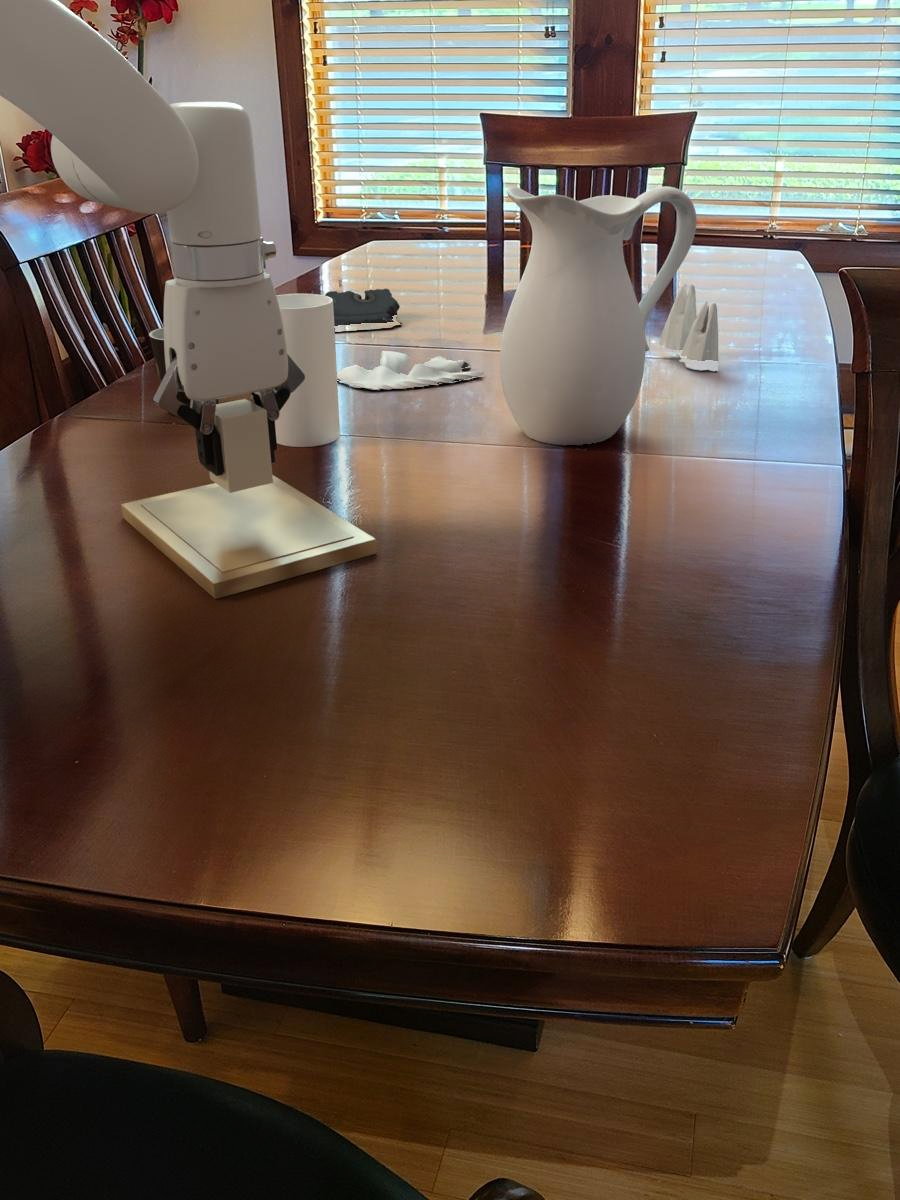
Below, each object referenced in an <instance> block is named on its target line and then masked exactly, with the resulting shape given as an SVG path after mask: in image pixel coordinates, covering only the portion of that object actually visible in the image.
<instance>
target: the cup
mask: <svg viewBox="0 0 900 1200" xmlns="http://www.w3.org/2000/svg"><path fill="white" fill-rule="evenodd" d="M276 295H277V299H278V303H279V307H280V311H281V316H282V322H283V327H284V333H285V340H286V348H287V354H288V355H289V356H290V357H291V359H292V360H293V361H294V362H295V363H296V365H297V366H298V367H299V368H300V370H301V371H302V372H303V373H304V375H305V380H304V381H303V382H302V383H301V384H300V385H299V387H298V388H297V389H296V390H295V391H294V392H292V393H291V394H290V397H289V399H288V400H287V402H286V403H285V404H284V406H283V407H282V409H281V410H280V411H279V412H280V416H279V418H278V419H277V420H276V421H275V429H276V441H277V445H281V446H284V447H292V448H310V447H319V446H323V445H328V444H330V443H333V442H335V441H337V440H338V439H339V438H340V437H341V426H340V425H341V424H340V405H339V391H338V390H339V388H338V387H339V385H338V382H337V373H338V369H337V368H338V367H337V350H336V349H337V348H336V333H335V328H334V310H333V300H332V298H330V297H328V296H325V294H324V295H323V294H316V293H287V294H286V293H285V294H276Z"/></svg>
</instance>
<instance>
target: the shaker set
mask: <svg viewBox="0 0 900 1200" xmlns="http://www.w3.org/2000/svg"><path fill="white" fill-rule="evenodd" d="M696 297H697V296H696V287H695V285H694V284H693V283H692V284H689V287H688V284H687V283H683V284H682V285H681V286H680V288H679V290H678V292H677V294H676V296H675V299H674V302H673V304H672V307H671V309H670V312H669V314H668V317H667V319H666V321H665V324H664V327H663V330H662V332H661V335H660V337H659V340H658V345H660V346H661V345H664V346H665V348H668V349H672V350H679V351H680V350H683V351H682V353H681V356H687V359H690V360H697V361H705V360H713V361H718V362H719V323H718V321H719V320H718V319H719V318H718V317H719V316H718V306H717V303H716V302H714V301H713V302H711V303H710V304H709V301H704V302H703V303H702V305H701V306H700V308H699V310H698V311H697V298H696ZM665 348H664V349H665Z"/></svg>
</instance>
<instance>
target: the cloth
mask: <svg viewBox="0 0 900 1200" xmlns="http://www.w3.org/2000/svg"><path fill="white" fill-rule="evenodd" d="M379 358H380V366H378V367H375V368H374V369H373V370H366V369H364V368H363V367H360V366H358V365H356V364H354V365H350V366H346V367H343V368H342V369H340V370H338V371H339V372H337V380H339V381H342V382H345V383H346V384H345V385H347V384H351V385H356V386H360V387H363V388H372V389H379V388H404V387H412V386H422V385H433V384H439V383H449V382H454V381H459V380H464V379H468V378H472V377H478V376H481V375H483V376H484V372H483V371H463V370H462V369H461V368H465V367H468V366H470V363H469V362H468V363H469V364H468V363H467V362H466V361H463V360H458V361H452V360H446V359H445V357H443V356H441V355H438V356H435V357H433V358H430V359H431V360H430V361H428V362H425V363H424V364H420V363H419V364H415V365H414V366H413V368H412V370H411V371H410V372H409V374H408V375H406V374H403V373H400V374H398V373H396V372H398V371H399V370H400V369H401V368H402V367H403V366H404V365H406V364H407V362H408V359H409V358H410V357H409V356H408V355H407V354H405V353H404V352H403V353H401V352H398V351H393V350H391V351H390V350H382V351H381V353H380V356H379ZM460 371H463V372H460ZM457 372H460V373H457Z"/></svg>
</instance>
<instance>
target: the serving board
mask: <svg viewBox="0 0 900 1200" xmlns="http://www.w3.org/2000/svg"><path fill="white" fill-rule="evenodd" d="M272 477H273V483H270V484H266V485H261V486H257V487H253V488H249V489H245V490H240V491H236V492H232V493H229V492H228V491H226V490H225V489H224V488H222V487H221V486H219V485H218V484H216V483H215V482H214V483H209V484H204V485H200V486H196V487H190V488H187V489H182V490H178V491H173V492H169V493H164V494H160V495H155V496H151V497H146V498H142V499H138V500H137V499H136V500H133V501H129V502H125V503H121V504H120V507H121V515H122V519H123V520H125V521H126V522H127V523H128V524H130V526H132V527H133V528H134V529H135V531H138V533H140V534H141V535H142V536H143V537H144V538H145V539H146V540H148V542H150V544H152V545H153V546H154V547H156V549H158V550H159V551H160V552H161V553H162V554H163V555H165V556H166V557H167V558H168V559H169V560H170V561H171V562H173V563H174V564H175V565H176V566H177V567H178V568H179V569H181V571H183V572H184V573H185V575H187V576H188V577H190V578H191V580H193V581H194V582H196V584H197V585H198V586H199V587H201V588H202V589H203V590H204V591H205V592H206V593H208V594H209V595H210V596H211V597H212V598H214V600H218V599H221V598H222V599H223V598H226V597H228V596H232V595H235V594H238V593H242V592H246V591H250V590H254V589H257V588H260V587H264V586H267V585H270V584H275V583H277V582H281V581H285V580H289V579H292V578H295V577H299V576H302V575H306V574H309V573H313V572H316V571H320V570H324V569H327V568H330V567H335V566H338V565H342V564H345V563H348V562H352V561H355V560H358V559H359V560H360V559H363V558H366V557H370V556H373V555H376V554H377V538H375V537H374V536H372V535H370V534H369V533H367V532H365V531H364V530H362V529H361V528H359V527H357V526H356V525H355V524H352V523H351V522H349V521H348V520H346V519H345V518H344V517H341V516H340V515H338V514H336V513H335V512H333V510H331V509H328V508H327V507H325V506H324V505H322V504H320V503H319V502H317V501H315V500H314V499H312V498H311V497H310V496H308V495H306V494H304V493H303V492H301V491H300V490H299V489H297V488H295V487H293V486H292V485H290V484H289V483H287V482H285V481H283V480H282V479H281V478H279V477H277V476H276V475H274V474H272Z"/></svg>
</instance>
